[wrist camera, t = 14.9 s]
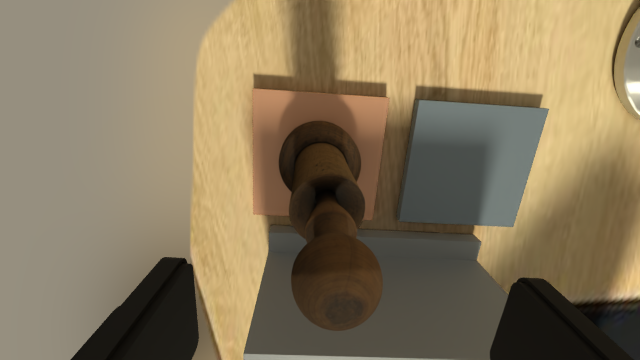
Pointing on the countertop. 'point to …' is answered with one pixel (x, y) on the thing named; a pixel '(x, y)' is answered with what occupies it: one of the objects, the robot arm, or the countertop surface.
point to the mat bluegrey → (468, 162)
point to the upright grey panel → (386, 303)
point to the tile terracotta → (301, 107)
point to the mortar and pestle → (329, 227)
